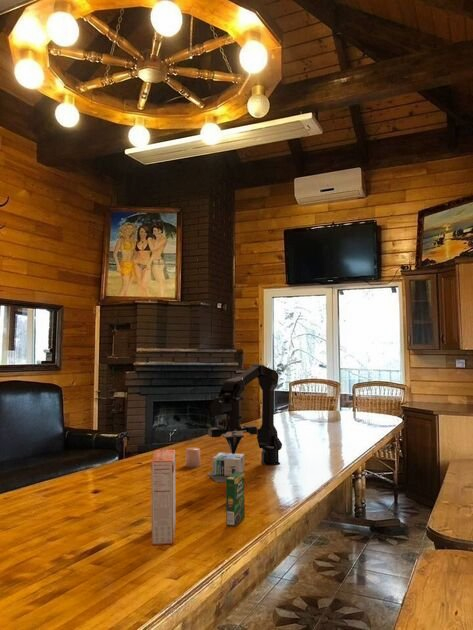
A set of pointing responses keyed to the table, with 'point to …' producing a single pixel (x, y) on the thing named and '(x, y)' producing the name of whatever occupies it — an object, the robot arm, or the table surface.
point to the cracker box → (163, 497)
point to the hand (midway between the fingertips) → (233, 453)
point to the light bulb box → (228, 464)
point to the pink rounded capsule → (192, 457)
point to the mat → (218, 477)
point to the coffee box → (235, 499)
